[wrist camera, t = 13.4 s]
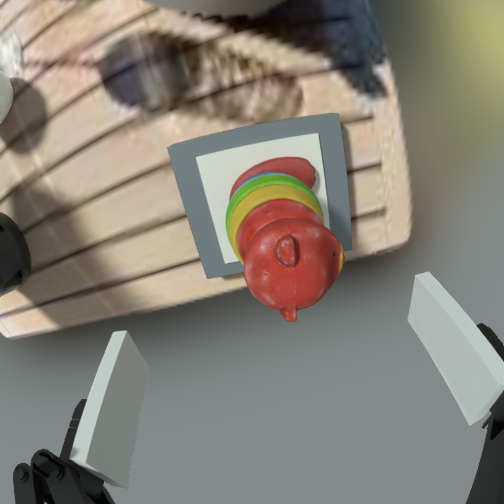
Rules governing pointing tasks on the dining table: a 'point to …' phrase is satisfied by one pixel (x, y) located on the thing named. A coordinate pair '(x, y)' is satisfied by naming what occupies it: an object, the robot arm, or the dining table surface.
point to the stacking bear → (282, 235)
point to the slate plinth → (246, 156)
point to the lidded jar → (5, 96)
